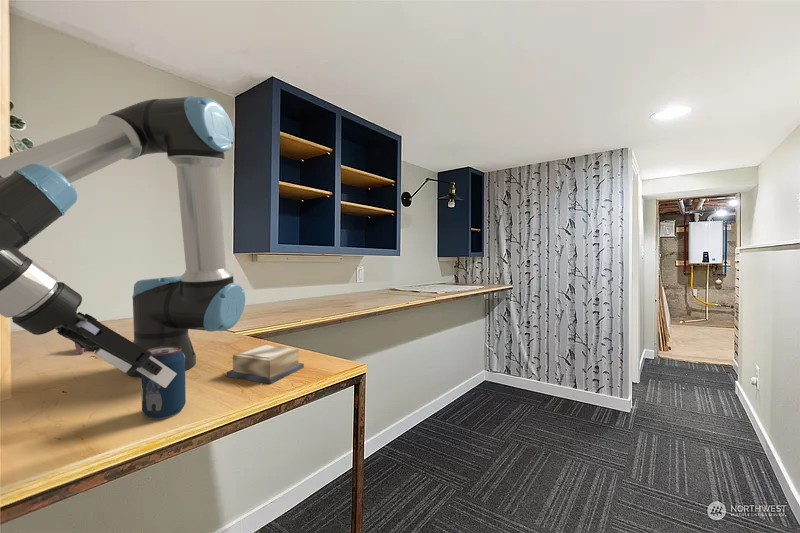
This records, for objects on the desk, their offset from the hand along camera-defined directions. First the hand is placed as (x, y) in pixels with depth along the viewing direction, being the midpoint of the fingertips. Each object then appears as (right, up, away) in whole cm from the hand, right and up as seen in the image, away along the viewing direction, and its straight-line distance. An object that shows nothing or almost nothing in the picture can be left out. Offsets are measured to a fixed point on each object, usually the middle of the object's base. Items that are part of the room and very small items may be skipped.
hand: (149, 373), depth 68 cm
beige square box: (+12, -7, +27) cm, 30 cm away
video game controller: (-44, -5, +42) cm, 61 cm away
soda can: (+1, -8, +3) cm, 9 cm away
